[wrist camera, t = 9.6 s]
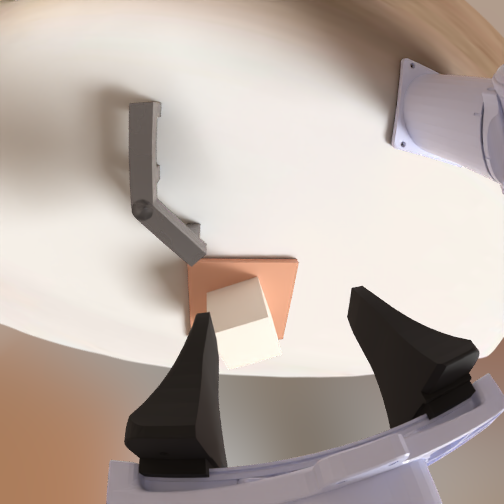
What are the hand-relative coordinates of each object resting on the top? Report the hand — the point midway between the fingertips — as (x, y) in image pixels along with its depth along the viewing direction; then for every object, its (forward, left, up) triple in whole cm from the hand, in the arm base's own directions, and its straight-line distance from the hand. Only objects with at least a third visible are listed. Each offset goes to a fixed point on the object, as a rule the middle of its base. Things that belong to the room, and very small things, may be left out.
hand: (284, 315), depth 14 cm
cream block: (+1, +7, -9) cm, 11 cm away
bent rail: (+6, -4, -10) cm, 12 cm away
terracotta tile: (+1, +7, -10) cm, 12 cm away
